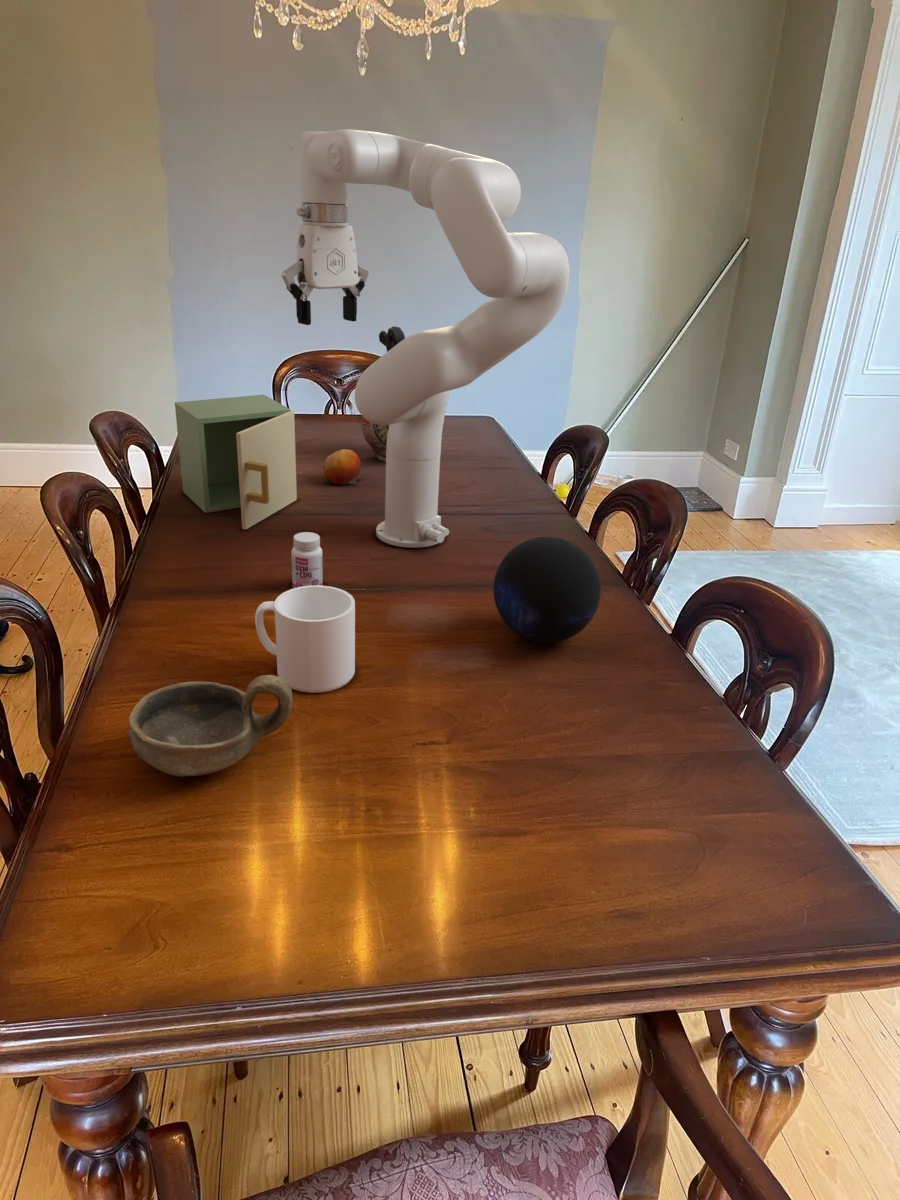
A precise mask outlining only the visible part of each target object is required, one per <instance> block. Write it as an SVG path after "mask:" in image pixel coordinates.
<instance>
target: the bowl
mask: <svg viewBox="0 0 900 1200" xmlns="http://www.w3.org/2000/svg"><path fill="white" fill-rule="evenodd" d="M292 690H293V689H291V688H290V686H289V684H288V683H287V682H286V681H285V680H284V679H282V678H280V677H278V675H273V674H265V675H264V674H263V675H260V676H256V678H254V679H253V680H252V681H250V683H249V684H248V685H247V687H246V690H245V691H243V690H241V689H239V688H236V687H234V686H231V685H228V684H222V683H218V682H212V681H198V680H197V681H185V682H178V683H174V684H171V685H167V686H163V687H161V688H158V689H155V690H152V691H150V692H148V693H147V694H146V695H144V696H143V697H142V698H141V699H140V700H139V701H138V702H137V703H136V704H135V706H133V708H132V712H131V713H130V714H129V717H128V723H129V727H130V729H129V730H128V734H127V735H128V739H129V740H130V742H131V746H132V748H133V750H134V752H135V754H136V755H137V756H138V758H140V759H141V760H142V761H144V762H146V763H147V764H148V765H150V766H151V767H153V768H154V769H156V770H158V771H160V772H162V773H164V774H166V775H171V776H174V777H175V776H176V777H195V776H196V777H197V776H198V777H199V776H205V775H211V774H215V773H217V772H220V771H223V770H224V769H225V770H226V769H227V768H229V767H231V766H233V765H235V764H236V763H238V762H239V761H241V760H242V759H243V758H245V757H246V756H247V755H248V754H249V752H250V751H251V750H252V749H253V747H254V746H256V744H258V742H259V741H260V740H261V739H263V738H264V737H266V736H267V735H270V734H271V733H273V732H275V731H277V730H278V729H280V728H281V727H283V725H284V724H285V723H286V722H287V720H288V719H289V717H290V715H291V713H292V709H293V699H294V696H293V691H292ZM264 693H265V694H266V693H267V694H270V695H273V696H274V697H276V699H277V702H278V705H277V706H276V708H275V709H274V710H272V712H270V713H269V714H266V715H259V714H257V713H255V712H254V710H253V706H252V703H253V702H254V700H255V699H256V697H257V696H258V695H259V694H264Z"/></svg>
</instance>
